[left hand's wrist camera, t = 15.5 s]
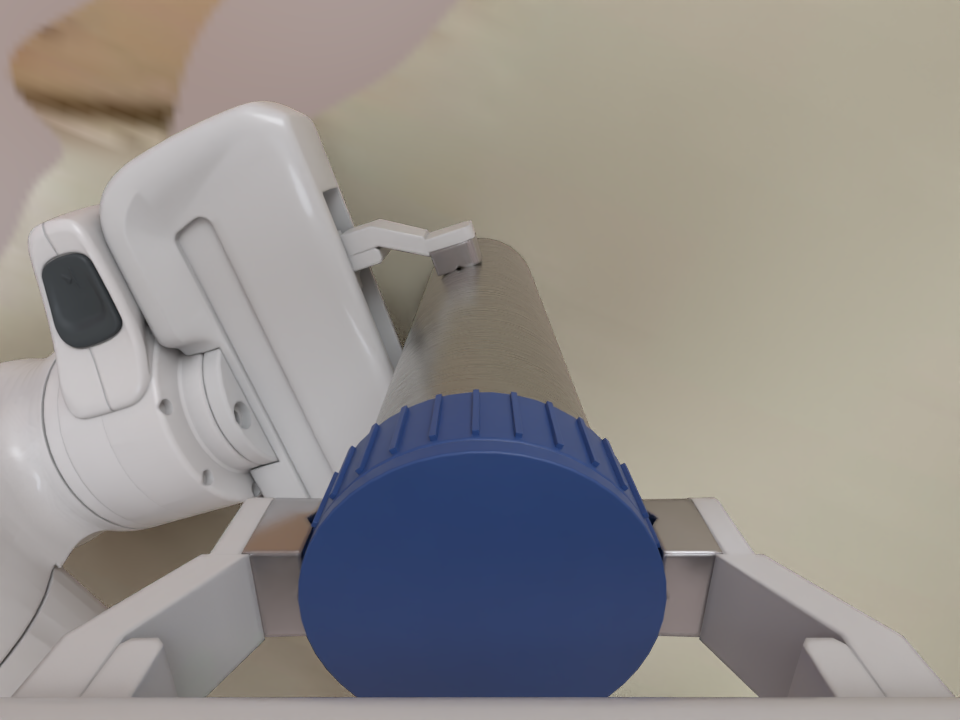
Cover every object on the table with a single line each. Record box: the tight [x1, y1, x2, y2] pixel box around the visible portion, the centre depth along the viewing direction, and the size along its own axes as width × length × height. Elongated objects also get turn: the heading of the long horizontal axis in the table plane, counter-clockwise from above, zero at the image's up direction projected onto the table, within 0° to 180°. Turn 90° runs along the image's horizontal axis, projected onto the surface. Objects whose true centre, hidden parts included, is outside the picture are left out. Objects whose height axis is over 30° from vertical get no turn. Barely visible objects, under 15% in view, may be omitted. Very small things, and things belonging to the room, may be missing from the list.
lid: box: [298, 389, 667, 697], centre depth 10 cm, size 6×6×2 cm
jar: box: [376, 238, 590, 428], centre depth 18 cm, size 5×5×20 cm
